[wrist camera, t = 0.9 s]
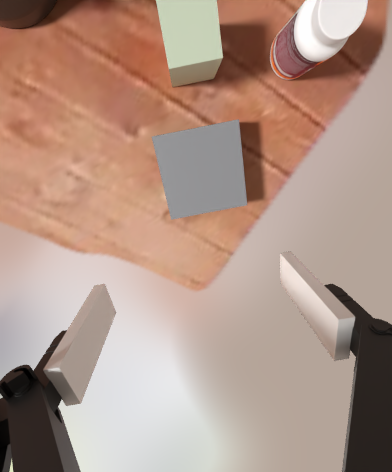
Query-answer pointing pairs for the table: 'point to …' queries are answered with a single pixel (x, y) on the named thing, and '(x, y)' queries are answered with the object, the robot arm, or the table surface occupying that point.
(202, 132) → the slate block
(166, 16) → the sage block
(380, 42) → the table surface
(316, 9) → the pill bottle
